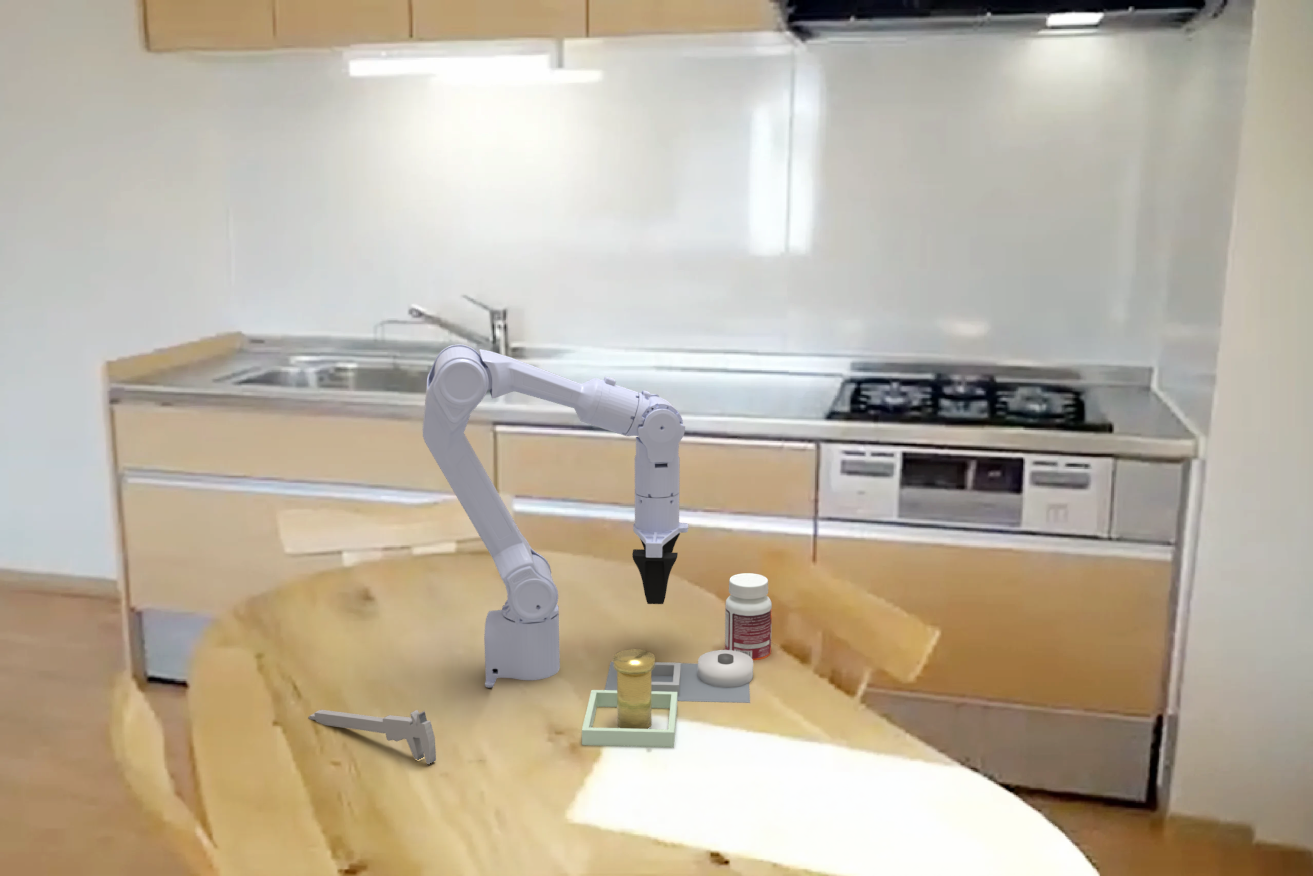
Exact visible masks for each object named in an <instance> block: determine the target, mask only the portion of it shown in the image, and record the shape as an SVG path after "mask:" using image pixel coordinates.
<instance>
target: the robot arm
mask: <svg viewBox="0 0 1313 876" xmlns="http://www.w3.org/2000/svg"><path fill="white" fill-rule="evenodd" d="M426 378H427V379H426V388H425V389H426V390H425V399H424V409H423V410H424V411H423V419H422V437H423V440H424V443H425V445H426V447H427V448H428V450H429V452H430V453H431V455H432V457H433V459H434V460H435V463H437V465H438V467H439V469H440V470H441V472H442V474H443V476H444V477H445V478H446V479H445V480H447V483H448V485H449V486H450V488H451V489H452V491H453V493H454V495H455V496H456V498H457V499H458V502H459V503H460V505H461V507H462V508H463V510H464V512H465V513H466V515H467V517H468V518H469V520H470V522H471V524H472V525H473V527H474V529H475V530H476V532H477V534H478V536H479V537H480V540H481V541H482V543H483V544H484V546H485V548H486V550H487V551H488V552H489V554H490V556H491V558H492V560H493V562H494V563H493V564H494V565H495V567H496V569H497V571H498V573H499V576H500V579H501V580H502V582H503V584H504V585H505V589H506V594H507V596H506V597H507V600H506V601H505V602H504V605H502V607H501V609H498V610H496V609H495V610H489V611H488V612H487V615H486V618H485V623H484V634H483V635H484V644H483V645H484V664H485V665H484V667H485V682H484V687H486V688H489V689H490V688H492V689H493V688H494V686H495V683H496V682H497V679H499V678H501V679H502V678H503V679H514V680H521V681H540V680H542V679H547V678H551V677H552V676H554V675H556V674H558V672H559V671H560V669H561V664H560V663H561V658H560V652H561V651H560V616H559V615H560V611H559V610H560V609H559V605H558V601H559V591H558V587H557V585H556V584H555V582H554V579H553V575H552V571H551V570H552V569H551V566H550V563H549V561H548V560H547V559H546V558H545V557H544V556H543V555H541V554H540V553H538V552H537V551H535V549H533V548H532V546H531V545H530V543H529V542H528V540H527V538H526V537H525V536H524V535H523V534H522V532H521V530H520V529H519V527H518V525H517V523H516V521H515V519H514V518H513V516H512V514H511V512H510V511H509V509H508V508H507V505H506V504H505V502H504V501H503V498H502V497H501V495H500V494H499V491H498V490H497V488H496V486H495V484H494V483H493V482H492V480H491V478H490V476H489V474H488V473H487V471H486V469H485V467H484V466H483V464H482V462H481V460H480V458H479V457H478V455H477V453H476V451H475V449H474V448H473V446H472V444H471V443H470V441H469V440H468V437H467V436H466V434H465V432H466V431H465V430H466V427H467V425H468V422H469V421H470V417H471V414H472V412H473V411H474V410H475V409H476V408H477V407H478V406H479V404H480V403H481V402H482V401H483V399H484V398H485V396H486V394H487V392H488V391H489V393H490V396H491V397H490V398H491V400H493V399H496V398H499V397H502V396H505V395H508V394H510V393H513V392H514V393H515V392H516V393H520V394H523V395H527V396H530V397H534V398H536V399H540V400H544V401H546V402H551V403H554V404H559V405H562V406H565V407H567V408H572V409H574V411H575V413H576V415H577V417H578V419H579V421H581V423H584V424H588V425H591V426H594V427H597V428H601V429H603V430H606V431H609V432H612V433H616V434H619V435H622V436H625V437H635V456H634V523H633V524H632V525H633V527H632V529H633V533H634V534H635V535H636V536H637V537H638V538H639V541H640V543H641V545H642V547H643V548H642V549H641V548H640V549H638V548H636V549H632V555H631V556H632V560H633V562H634V564H635V566H636V567H637V570H638V572H639V575H640V577H641V582H642V587H643V593H644V596H645V600H646V603H647V604H648V605H664V603H665V599H666V596H667V591H668V584H669V578H670V574H671V571H672V568H673V567H674V565H675V564H676V561H677V558H678V552H673V551H674V548H675V545H676V544H677V540H678V539H679V537H680V535H681V533H688V532H689V523H688V522H680V486H681V485H680V478H681V477H680V472H681V471H680V461H681V460H680V455H679V452H680V450H679V449H680V444H679V443H680V442H681V441H682V440H683V438H684V435H685V432H686V426H685V425H684V424H683V423H684V421H683V418H682V415H681V413H680V412H679V411H678V410H677V408H676V407H674V406H673V404H671V402H670V401H668V400H667V399H666V398H663V397H661V396H660V395H659V394H657V393H651V392H650V391H648V390H645V389H642V390H641V392H639V391H636V390H633V389H629V388H628V387H624V386H622V385H617V384H616V383H617V381H616V380H615V378H614V377H610V376H607V375H605V376H604V377H603V379H601V378H598V377H593V378H591V379H589V380H587V381H584V382H578V381H575V380H572V379H569V378H567V377H564V376H562V375H560V374H559V375H558V374H556V373H554V372H550V371H548V370H545V369H543V368H540V367H538V366H535V365H532V364H529V363H527V362H525V361H521V360H519V359H516V358H513V357H511V356H508V355H505V354H501V353H497V352H495V351H490V350H486V349H481V348H480V349H479V352H478V351H477V350H476V349H474V348H473V347H471V346H469V345H466V344H462V343H461V344H451V345H449V346H447V347H445V348H443V349H442V350H441V351H440V352H438V354H437V356H436V357H435V359H434V362H433V364H432V366H431V368H430V370H429V372H428V374H427V377H426Z"/></svg>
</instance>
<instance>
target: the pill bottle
mask: <svg viewBox="0 0 1313 876" xmlns="http://www.w3.org/2000/svg"><path fill="white" fill-rule="evenodd" d="M728 583H729V584H728V593H729V594H730V595H729V596H728V597H727V598H726V599H725V610H724V611H725V612H724V614H725V618H724V621H725V622H724V650H733V651H738V652H742V653H745V654H747V655H748V656H750V657H751V658H752V660H753V661H759V660H760V661H761V660H763V659H766V658H767V657H769V656H770V655H771V654H772V627H773V626H772V624H773V623H772V617H773V616H772V615H773V614H772V613H773V611H772V610H773V607H772V606H773V605H772V604H773V603H772V601H771V599H770V597H769V596H768V593H769V579H768V578H767V577H766V576H765V575H762V574H758V573H752V572H751V573H750V572H747V573H738V574H734V575H732V576H731V577H730V578H729V582H728Z"/></svg>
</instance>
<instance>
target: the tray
mask: <svg viewBox="0 0 1313 876" xmlns="http://www.w3.org/2000/svg"><path fill="white" fill-rule="evenodd" d="M651 695H652V709H669V714H668V715H669V717H668V726H667V727H668V728H666V729H664V728H663V729H661V728H659V729H658V728H648V729H631V728H619V727H593V726H594V721H595V717H596V712H597V708H600V707H601V708H617V690H605V689H591V691H590V694H589V699H588V702H587V708H586V710H585V715H584V719H583V722H582V727H581V728H582V729H581V745H582V746H597V747H598V746H599V747H600V746H601V747H602V746H603V747H641V748H642V747H643V748H673V749H674V747H675V740H676V739H675V737H676V725H677V716H678V714H677V712H678V701H677V692H662V691H651Z"/></svg>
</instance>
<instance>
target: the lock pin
mask: <svg viewBox="0 0 1313 876" xmlns="http://www.w3.org/2000/svg"><path fill="white" fill-rule="evenodd" d="M612 659H613V660H612V662H613V667H614V669H615V670H616V671H617V707H616V709H617V710H616V711H617V712H616V713H617V717H616V718H617V723H616V724H617V726H618V727H617V728H631V729H651V726H652V723H653V722H652V721H653V719H652V711H653V708H652V695H651V670H653V669H654V667H655V662H656V657H655V655H654V654H653V653H652V652H650V651H648V650H645V649H640V648H639V649H636V648H633V649H632V648H631V649H624V650H621V651H618V652H616V653H615V654H614V655H613V657H612Z"/></svg>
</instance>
